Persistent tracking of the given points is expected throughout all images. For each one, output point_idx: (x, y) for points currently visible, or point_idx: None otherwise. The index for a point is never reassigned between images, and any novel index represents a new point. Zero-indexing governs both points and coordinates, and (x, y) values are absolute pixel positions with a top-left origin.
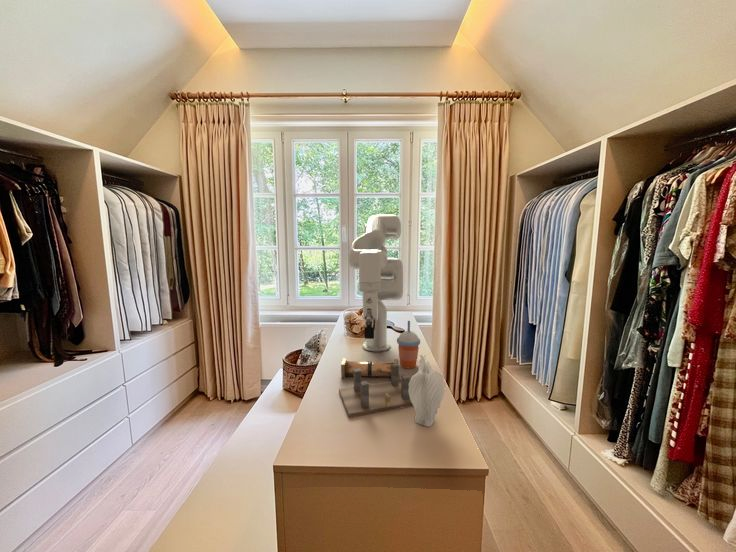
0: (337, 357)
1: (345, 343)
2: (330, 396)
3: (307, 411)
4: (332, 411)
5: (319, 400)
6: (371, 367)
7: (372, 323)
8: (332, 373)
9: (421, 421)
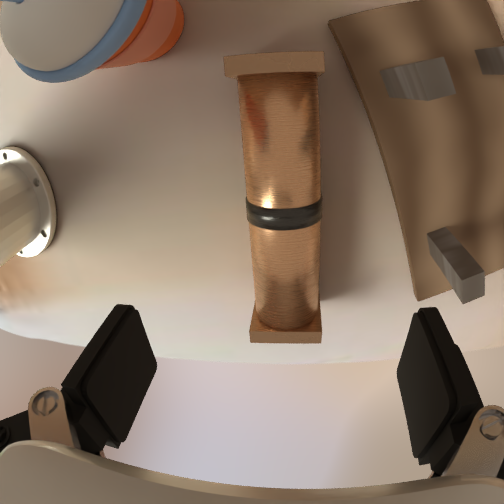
0: None
1: (40, 308)
2: None
3: (479, 343)
4: (497, 291)
5: None
6: (316, 203)
7: (500, 459)
8: None
9: None
